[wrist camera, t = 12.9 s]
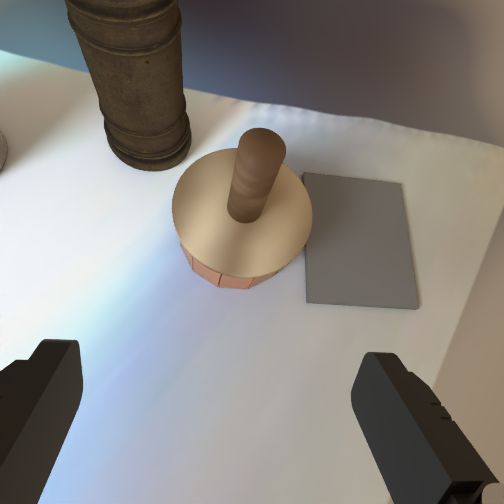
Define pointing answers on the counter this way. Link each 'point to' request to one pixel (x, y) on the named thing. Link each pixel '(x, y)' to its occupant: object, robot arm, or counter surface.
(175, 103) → the container
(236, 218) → the lid
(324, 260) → the mat
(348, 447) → the counter surface
